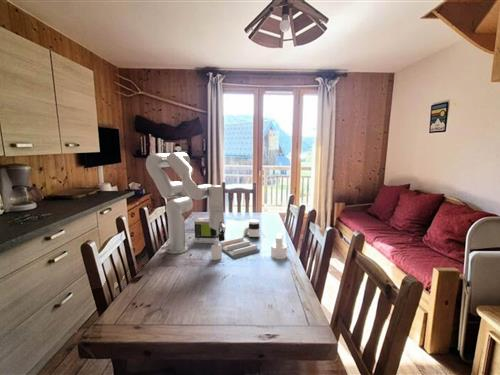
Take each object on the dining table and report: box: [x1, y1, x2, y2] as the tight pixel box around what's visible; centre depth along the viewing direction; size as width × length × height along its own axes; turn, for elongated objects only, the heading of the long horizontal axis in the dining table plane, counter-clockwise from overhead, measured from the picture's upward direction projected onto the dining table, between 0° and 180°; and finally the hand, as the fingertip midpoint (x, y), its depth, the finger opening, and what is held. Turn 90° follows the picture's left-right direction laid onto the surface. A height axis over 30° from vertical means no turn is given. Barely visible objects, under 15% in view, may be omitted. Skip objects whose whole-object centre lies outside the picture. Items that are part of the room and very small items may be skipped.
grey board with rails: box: [219, 236, 261, 260], centre depth 156 cm, size 18×19×4 cm
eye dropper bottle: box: [210, 238, 223, 261], centre depth 143 cm, size 4×6×12 cm
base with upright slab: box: [270, 232, 288, 260], centre depth 148 cm, size 9×9×12 cm
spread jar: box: [242, 219, 261, 239], centre depth 179 cm, size 12×11×12 cm
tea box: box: [193, 217, 220, 244], centre depth 170 cm, size 15×10×15 cm, turn 84°
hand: (217, 238), depth 142 cm, fingers open, 9 cm apart
